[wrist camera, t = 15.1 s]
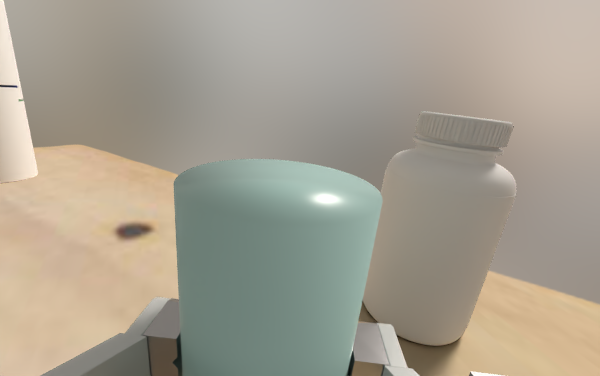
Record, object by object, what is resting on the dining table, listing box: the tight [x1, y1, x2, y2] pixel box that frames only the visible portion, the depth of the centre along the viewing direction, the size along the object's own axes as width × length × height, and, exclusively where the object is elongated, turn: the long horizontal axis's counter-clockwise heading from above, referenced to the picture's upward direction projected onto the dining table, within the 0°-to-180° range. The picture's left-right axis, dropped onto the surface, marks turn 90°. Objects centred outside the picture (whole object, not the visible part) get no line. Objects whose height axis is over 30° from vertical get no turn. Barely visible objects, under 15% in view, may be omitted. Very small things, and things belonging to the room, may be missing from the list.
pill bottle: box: [363, 111, 516, 346], centre depth 20 cm, size 8×8×15 cm
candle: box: [174, 159, 383, 376], centre depth 9 cm, size 5×5×13 cm
